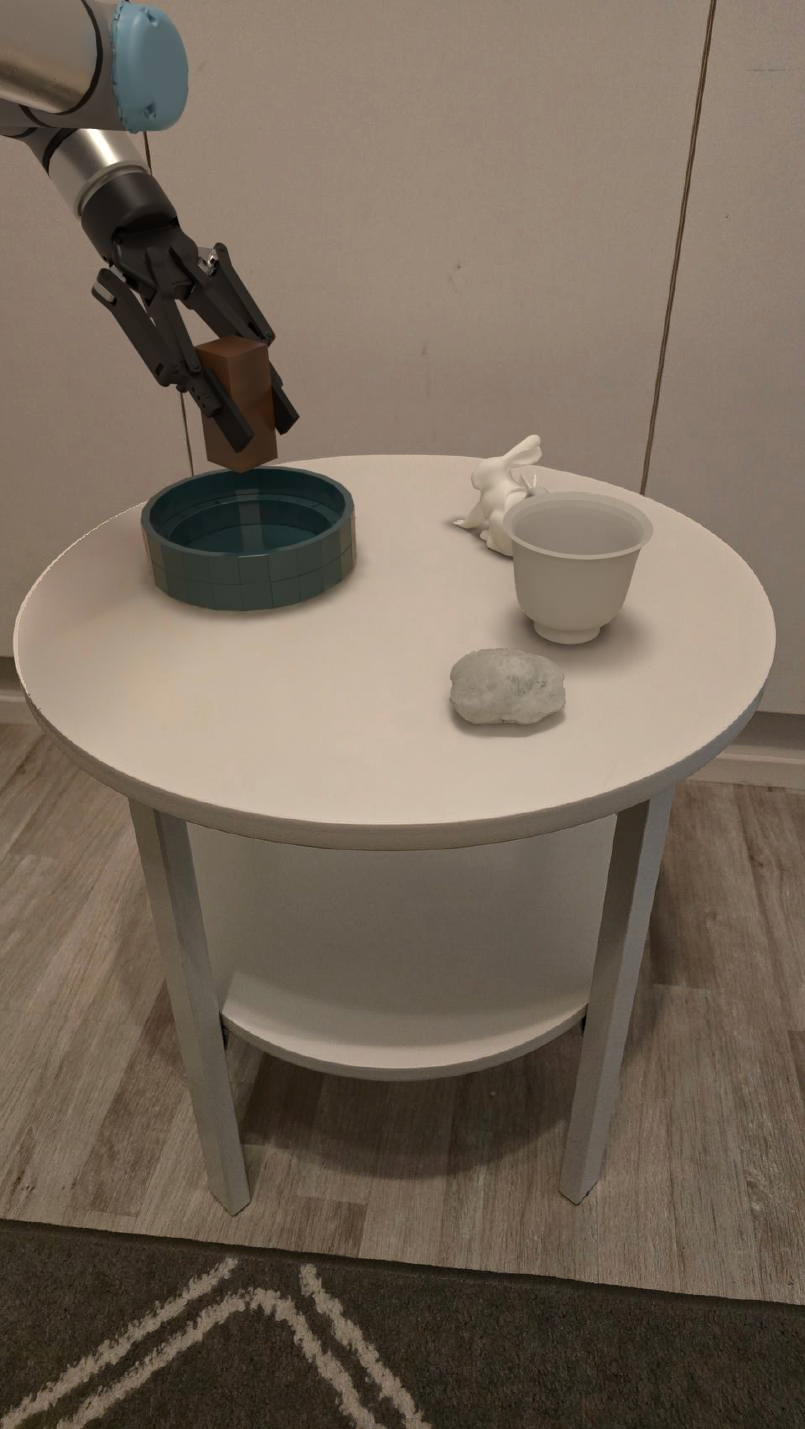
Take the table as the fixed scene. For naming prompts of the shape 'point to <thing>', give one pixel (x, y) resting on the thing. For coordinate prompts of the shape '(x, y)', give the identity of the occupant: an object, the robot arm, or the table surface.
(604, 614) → the teacup
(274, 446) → the walnut block
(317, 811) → the table surface
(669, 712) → the table surface
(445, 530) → the table surface
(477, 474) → the rabbit figurine
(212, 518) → the bowl
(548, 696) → the pebble
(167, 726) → the table surface
